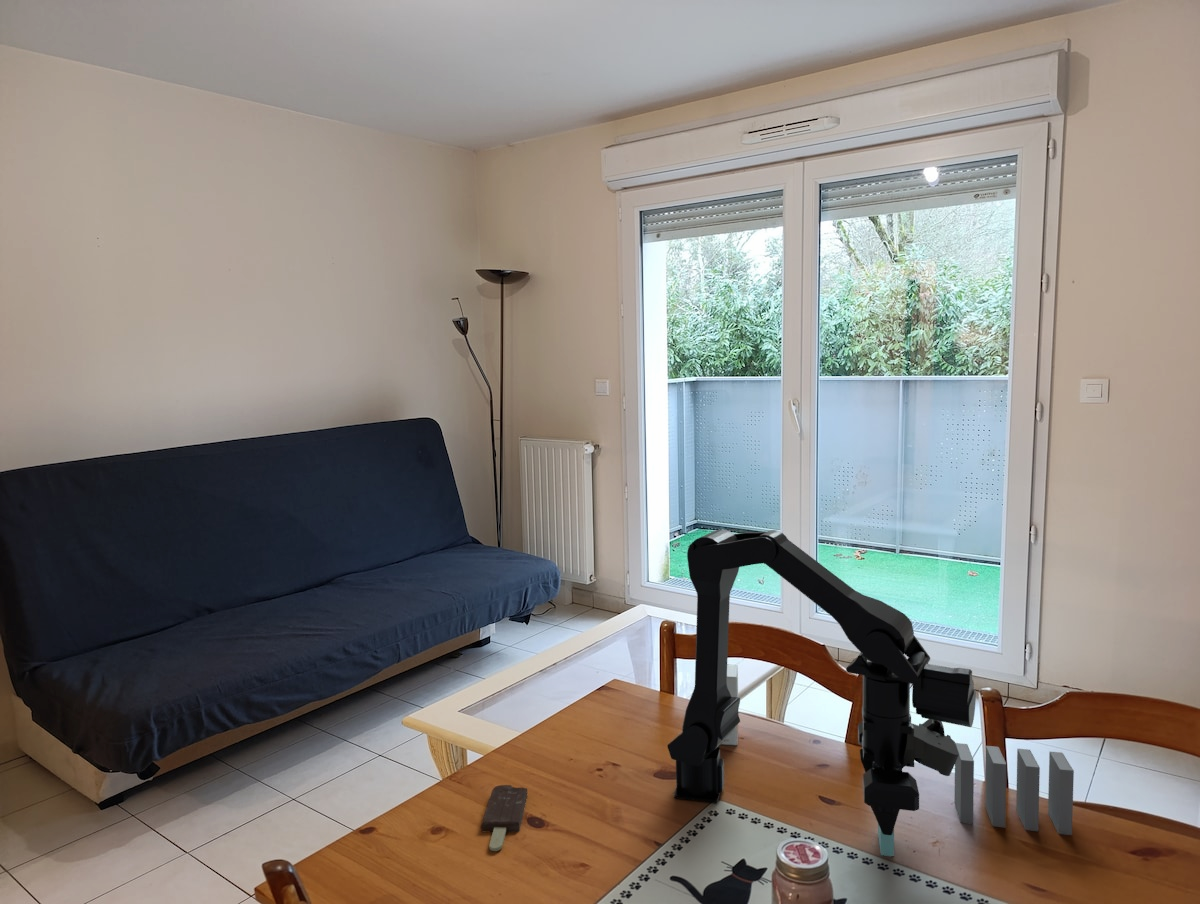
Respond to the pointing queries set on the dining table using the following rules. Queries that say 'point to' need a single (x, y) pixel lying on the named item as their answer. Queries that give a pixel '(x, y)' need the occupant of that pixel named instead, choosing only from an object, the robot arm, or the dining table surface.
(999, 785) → the domino
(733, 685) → the skincare box
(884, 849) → the placed domino
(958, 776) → the domino
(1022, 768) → the domino
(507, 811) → the ice cream bar
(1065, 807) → the domino
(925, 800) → the dining table surface
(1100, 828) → the dining table surface
